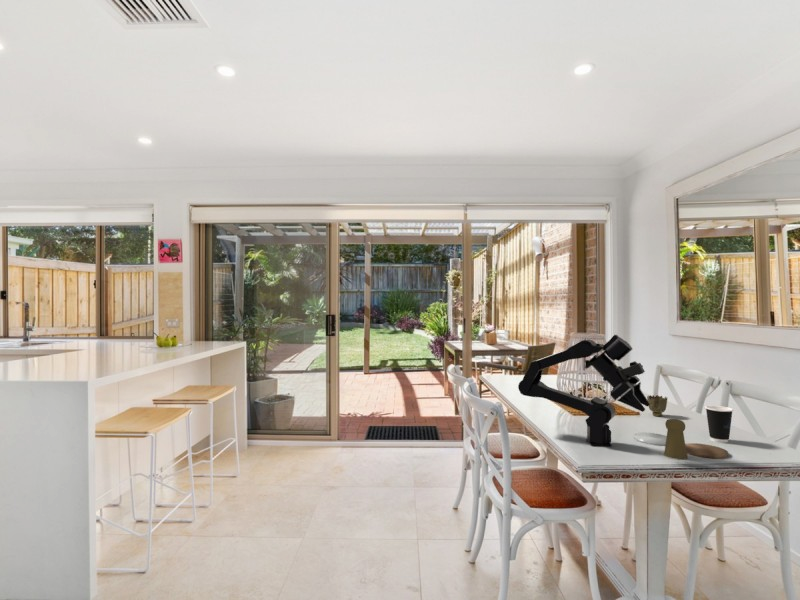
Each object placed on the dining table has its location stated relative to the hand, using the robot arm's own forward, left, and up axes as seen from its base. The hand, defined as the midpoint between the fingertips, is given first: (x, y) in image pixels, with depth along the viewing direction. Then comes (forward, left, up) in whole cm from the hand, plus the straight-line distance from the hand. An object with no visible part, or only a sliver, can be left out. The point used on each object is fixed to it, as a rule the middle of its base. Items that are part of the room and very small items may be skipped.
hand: (646, 408), depth 143 cm
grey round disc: (+8, +13, -14) cm, 21 cm away
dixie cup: (+30, +15, -14) cm, 36 cm away
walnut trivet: (+18, +1, -14) cm, 22 cm away
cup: (+25, +50, -14) cm, 58 cm away
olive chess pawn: (+7, -3, -14) cm, 16 cm away
